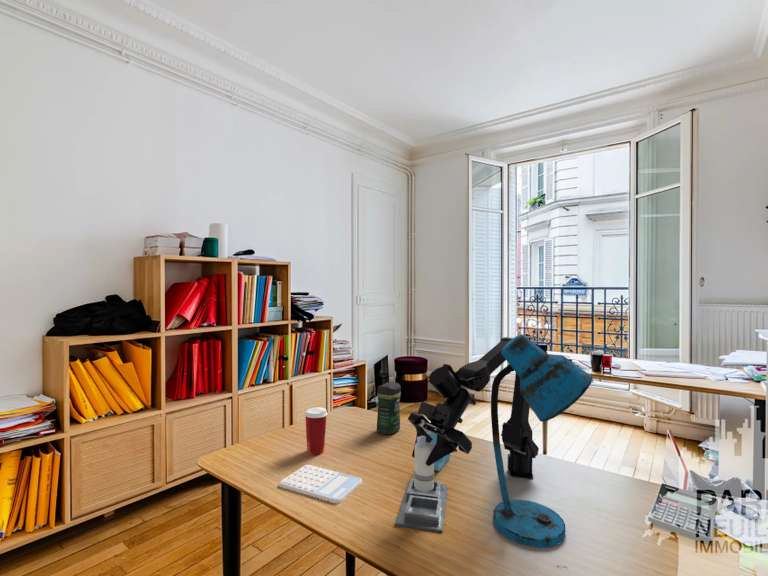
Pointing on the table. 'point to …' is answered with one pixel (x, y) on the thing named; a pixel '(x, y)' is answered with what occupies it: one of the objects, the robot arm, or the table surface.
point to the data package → (442, 461)
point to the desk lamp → (547, 399)
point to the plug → (423, 465)
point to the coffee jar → (388, 408)
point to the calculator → (321, 483)
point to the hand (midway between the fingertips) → (419, 461)
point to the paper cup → (315, 430)
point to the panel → (423, 507)
